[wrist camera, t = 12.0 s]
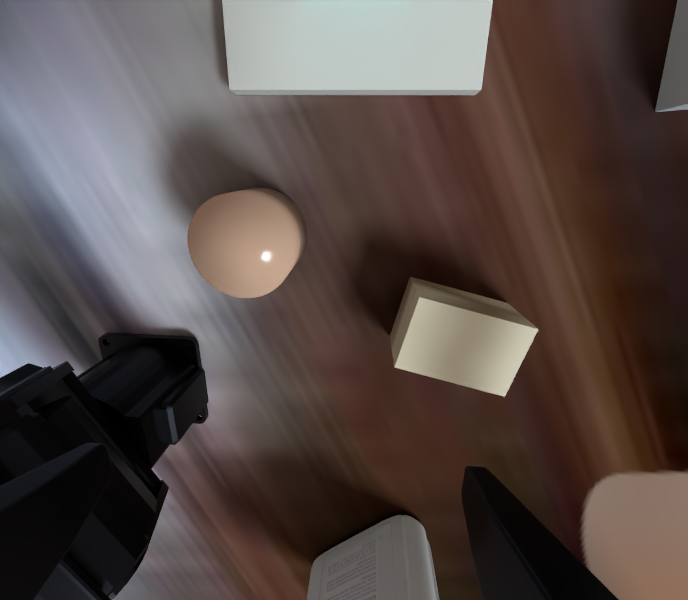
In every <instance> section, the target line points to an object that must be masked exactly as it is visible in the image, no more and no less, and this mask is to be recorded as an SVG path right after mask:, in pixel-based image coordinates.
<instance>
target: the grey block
mask: <svg viewBox="0 0 688 600" xmlns="http://www.w3.org/2000/svg"><path fill="white" fill-rule="evenodd" d="M685 109H688V0H677V5H676V10H675V15H674V20H673V25H672V30H671V35H670V40H669V45H668V50H667V55H666V60H665V65H664V70H663V75H662V80H661V85H660V90H659V95H658V100H657V105H656V110H655V112H661V111H673V110H685Z"/></svg>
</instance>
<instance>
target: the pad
mask: <svg viewBox="0 0 688 600" xmlns="http://www.w3.org/2000/svg"><path fill="white" fill-rule="evenodd" d="M492 3H493V0H222V5H223V17H224V29H225V42H226V54H227V66H228V78H229V90H231V91H232V92H234V93H235V94H236V95H476V94H477V93H478V92H479V91H480V90H481V89H482V81H483V73H484V65H485V57H486V50H487V42H488V34H489V26H490V18H491V11H492Z"/></svg>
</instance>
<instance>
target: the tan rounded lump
mask: <svg viewBox="0 0 688 600" xmlns="http://www.w3.org/2000/svg"><path fill="white" fill-rule="evenodd" d="M306 241H307V230H306V224H305V221H304V218H303V216H302V214H301V212H300V210H299V209H298V207H297V206H296V205H295V204H294V202H293V201H292V200H291V199H289V198H288V197H287V196H285V195H284V194H282V193H280V192H278V191H276V190H273V189H269V188H251V189H245V190H240V191H235V192H230V193H224V194H221V195H217V196H215V197H213V198H210V199H209V200H207V201H206V202H204V203H203V204H202V205H201V206H200V207H199V208H198V210H197V211H196V212H195V214H194V216H193V217H192V220H191V222H190V225H189V229H188V248H189V253H190V256H191V259H192V261H193V264H194V265H195V267H196V269H197V270H198V272H199V273H200V275H201V276H202V277H203V278H204V279H205V280H206V281H207V282H208V283H209V284H210V285H211V286H213V287H214V288H216V289H217V290H219V291H221V292H223V293H225V294H228V295H231V296H234V297H239V298H255V297H259V296H263V295H265V294H268V293H270V292H271V291H273V290H274V289H276V288H277V287H278V286H279V285H280V284H281V283H282V282H283V281H284V279H285V278H286V277H287V275H288V274H289V273H290V271H291V270H292V268H293V267H294V266H295V264H296V263H297V261H298V260H299V259H300V257H301V255H302V254H303V252H304V249H305V246H306Z"/></svg>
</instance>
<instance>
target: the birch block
mask: <svg viewBox="0 0 688 600" xmlns="http://www.w3.org/2000/svg"><path fill="white" fill-rule="evenodd" d="M537 331H538V328H536V327H535V326H534V325H533V324H532V323H530V322H529V321H528V320H527V319H526V318H525V317H523V316H522V315H521V314H520V313H519V312H518V311H516V310H515V309H514V308H513V307H512V306H510V305H509V304H508V303H506V302H502V301H499V300H495V299H491V298H488V297H484V296H480V295H476V294H473V293H469V292H465V291H462V290H458V289H454V288H451V287H447V286H443V285H440V284H436V283H432V282H429V281H425V280H421V279H417V278H414V277H410V278H409V281H408V284H407V287H406V290H405V293H404V296H403V299H402V302H401V305H400V308H399V311H398V314H397V317H396V319H395V322H394V325H393V328H392V331H391V334H390V340H391V347H392V354H393V361H394V367H395V368H399V369H403V370H406V371H410V372H414V373H418V374H421V375H425V376H429V377H433V378H437V379H440V380H444V381H448V382H452V383H455V384H459V385H463V386H467V387H470V388H474V389H478V390H482V391H485V392H489V393H493V394H497V395H500V396H504V397H505V395H506V393H507V391H508V389H509V387H510V385H511V383H512V381H513V379H514V377H515V375H516V373H517V371H518V369H519V367H520V365H521V363H522V361H523V359H524V357H525V355H526V353H527V351H528V349H529V347H530V345H531V343H532V341H533V339H534V337H535V335H536V333H537Z"/></svg>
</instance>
